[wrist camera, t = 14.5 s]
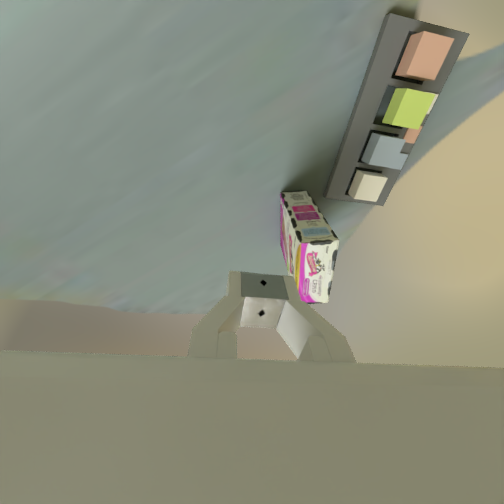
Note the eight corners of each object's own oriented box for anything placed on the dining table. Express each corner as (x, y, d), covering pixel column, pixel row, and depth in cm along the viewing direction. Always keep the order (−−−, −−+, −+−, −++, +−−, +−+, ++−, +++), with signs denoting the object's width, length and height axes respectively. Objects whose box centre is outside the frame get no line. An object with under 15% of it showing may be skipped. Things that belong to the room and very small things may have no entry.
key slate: (368, 131, 36) (380, 135, 33) (392, 135, 37) (406, 139, 34) (358, 158, 38) (368, 164, 35) (380, 162, 39) (392, 168, 36)
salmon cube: (406, 36, 30) (424, 30, 27) (433, 43, 31) (454, 38, 28) (391, 75, 32) (406, 73, 29) (416, 81, 33) (434, 80, 30)
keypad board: (385, 15, 29) (391, 12, 28) (462, 35, 30) (471, 33, 29) (323, 195, 42) (326, 198, 41) (379, 203, 43) (384, 206, 42)
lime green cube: (391, 88, 32) (407, 88, 29) (417, 94, 32) (435, 94, 29) (378, 121, 34) (391, 124, 31) (403, 126, 35) (418, 129, 32)
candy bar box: (278, 191, 41) (299, 241, 28) (306, 189, 41) (342, 238, 28) (278, 245, 47) (296, 307, 34) (303, 243, 47) (330, 304, 34)
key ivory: (354, 168, 39) (364, 174, 36) (376, 171, 40) (387, 177, 37) (345, 191, 41) (353, 198, 38) (366, 194, 42) (376, 201, 39)
